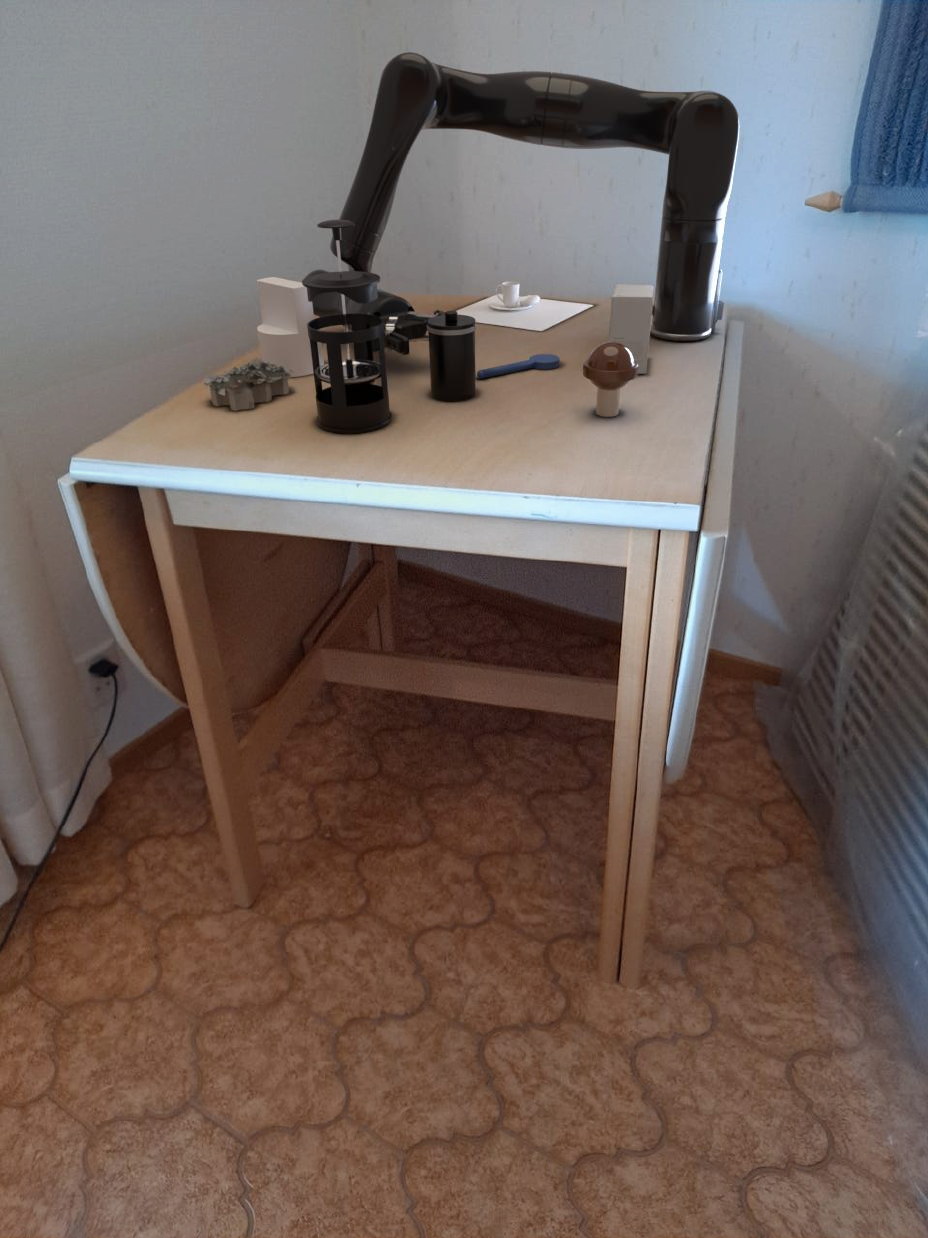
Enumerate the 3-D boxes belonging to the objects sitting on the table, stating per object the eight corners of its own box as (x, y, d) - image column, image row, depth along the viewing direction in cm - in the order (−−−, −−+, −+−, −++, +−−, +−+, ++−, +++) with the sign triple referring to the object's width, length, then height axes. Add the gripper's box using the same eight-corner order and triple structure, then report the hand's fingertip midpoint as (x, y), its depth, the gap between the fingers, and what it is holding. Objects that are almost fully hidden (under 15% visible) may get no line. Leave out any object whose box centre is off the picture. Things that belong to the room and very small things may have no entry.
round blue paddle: (547, 358, 129) (547, 350, 128) (565, 365, 125) (565, 357, 125) (469, 375, 123) (469, 367, 122) (486, 383, 119) (486, 374, 119)
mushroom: (610, 400, 112) (615, 332, 108) (644, 415, 108) (651, 343, 103) (570, 410, 109) (573, 340, 105) (603, 426, 105) (608, 353, 100)
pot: (461, 383, 120) (459, 303, 114) (485, 396, 115) (485, 313, 109) (421, 392, 117) (417, 310, 111) (445, 405, 112) (442, 320, 106)
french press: (376, 438, 103) (359, 229, 90) (303, 433, 105) (276, 227, 92) (405, 405, 112) (393, 212, 100) (337, 401, 114) (317, 211, 102)
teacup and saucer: (544, 305, 156) (545, 281, 154) (523, 314, 151) (523, 290, 148) (502, 300, 160) (502, 276, 158) (480, 309, 155) (480, 285, 152)
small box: (646, 375, 121) (653, 297, 115) (605, 373, 122) (611, 295, 116) (647, 358, 127) (654, 283, 122) (609, 357, 128) (614, 283, 123)
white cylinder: (250, 369, 127) (237, 283, 121) (299, 355, 133) (289, 272, 126) (288, 381, 122) (276, 292, 116) (337, 366, 128) (328, 280, 121)
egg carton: (240, 414, 111) (234, 382, 109) (202, 403, 115) (196, 373, 113) (299, 391, 118) (295, 361, 116) (261, 381, 122) (257, 352, 120)
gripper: (333, 298, 122) (386, 321, 111) (420, 284, 129) (479, 305, 117) (338, 351, 127) (390, 379, 115) (423, 335, 133) (480, 360, 121)
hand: (435, 341), depth 116 cm, fingers open, 8 cm apart
